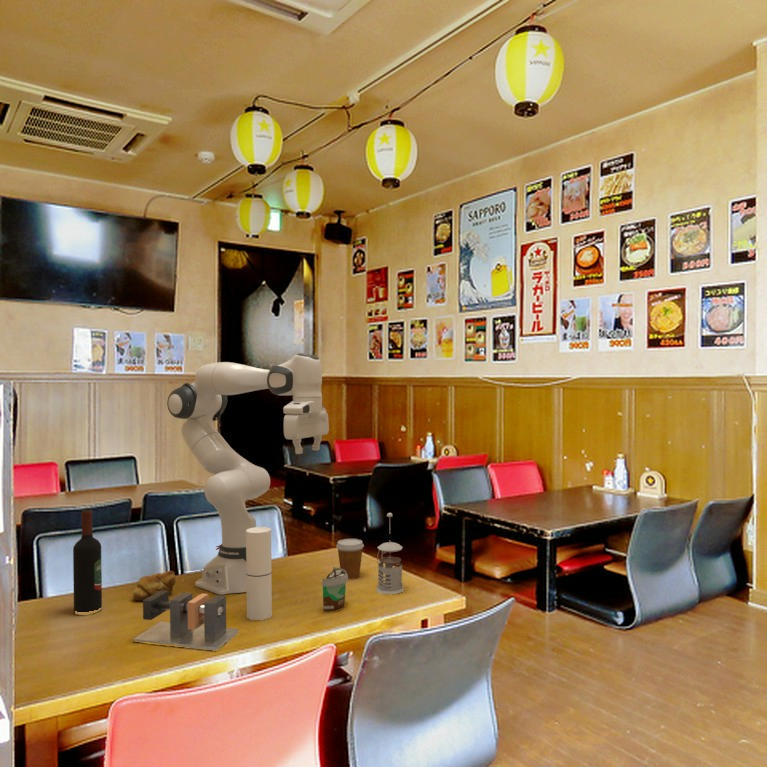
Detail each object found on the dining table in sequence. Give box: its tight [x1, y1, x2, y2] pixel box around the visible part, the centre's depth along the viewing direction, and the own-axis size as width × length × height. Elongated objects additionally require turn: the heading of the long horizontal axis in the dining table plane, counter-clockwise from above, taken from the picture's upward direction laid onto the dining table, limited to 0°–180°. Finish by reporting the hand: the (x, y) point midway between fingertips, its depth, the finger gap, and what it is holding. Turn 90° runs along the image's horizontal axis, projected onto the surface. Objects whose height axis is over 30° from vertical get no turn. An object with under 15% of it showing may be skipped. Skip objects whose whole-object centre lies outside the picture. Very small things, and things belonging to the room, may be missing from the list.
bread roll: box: [132, 570, 176, 601], centre depth 198 cm, size 13×10×8 cm
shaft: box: [142, 590, 223, 621], centre depth 166 cm, size 21×8×5 cm, turn 76°
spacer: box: [188, 593, 210, 630], centre depth 165 cm, size 2×7×7 cm, turn 166°
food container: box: [321, 567, 349, 613], centre depth 188 cm, size 12×6×10 cm, turn 168°
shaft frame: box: [132, 592, 240, 652], centre depth 166 cm, size 24×12×11 cm, turn 76°
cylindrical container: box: [246, 526, 273, 621], centre depth 181 cm, size 7×7×25 cm
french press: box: [375, 512, 405, 595], centre depth 203 cm, size 10×12×25 cm
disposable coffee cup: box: [335, 538, 365, 580], centre depth 216 cm, size 10×10×12 cm
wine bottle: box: [72, 509, 103, 612], centre depth 186 cm, size 8×8×30 cm
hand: (307, 451), depth 190 cm, fingers open, 8 cm apart
